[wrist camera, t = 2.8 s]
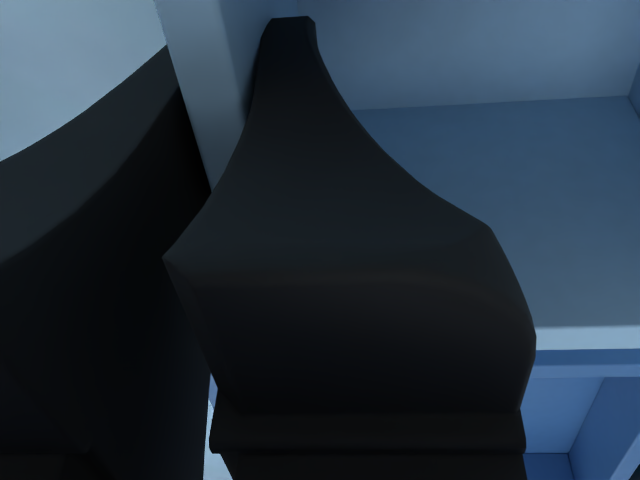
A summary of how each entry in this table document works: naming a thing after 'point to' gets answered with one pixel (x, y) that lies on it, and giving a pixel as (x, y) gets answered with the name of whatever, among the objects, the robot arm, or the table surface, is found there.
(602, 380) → the steel blue bin
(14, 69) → the table surface
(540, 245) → the pale blue bin
